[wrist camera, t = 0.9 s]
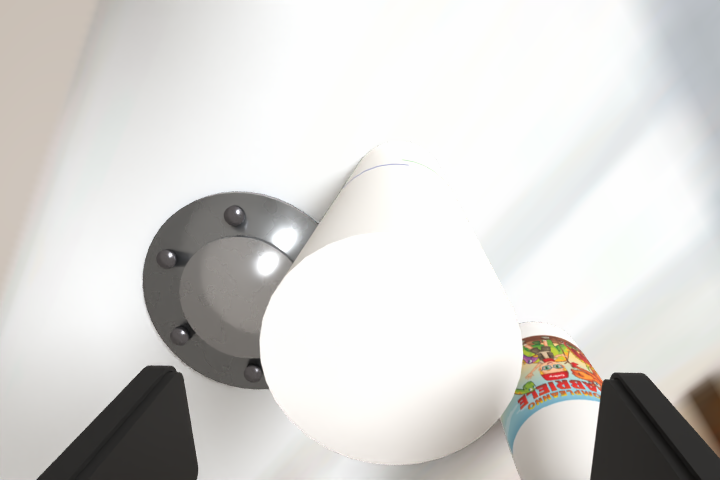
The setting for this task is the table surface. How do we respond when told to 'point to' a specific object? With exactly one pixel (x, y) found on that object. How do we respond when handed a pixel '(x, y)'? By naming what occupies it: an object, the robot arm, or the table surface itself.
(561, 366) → the milk bottle
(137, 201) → the table surface
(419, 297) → the cylindrical container
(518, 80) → the table surface
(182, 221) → the flange
